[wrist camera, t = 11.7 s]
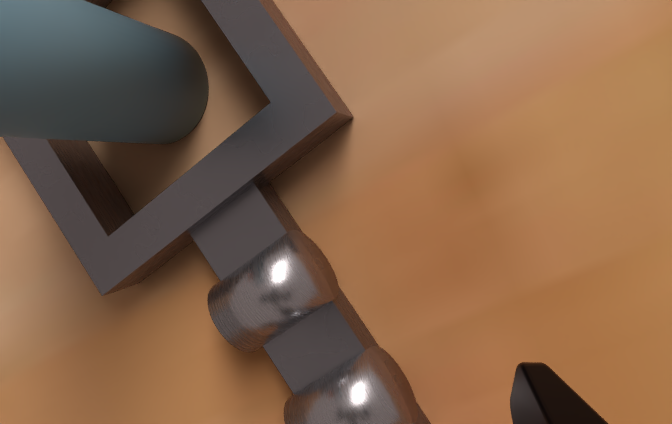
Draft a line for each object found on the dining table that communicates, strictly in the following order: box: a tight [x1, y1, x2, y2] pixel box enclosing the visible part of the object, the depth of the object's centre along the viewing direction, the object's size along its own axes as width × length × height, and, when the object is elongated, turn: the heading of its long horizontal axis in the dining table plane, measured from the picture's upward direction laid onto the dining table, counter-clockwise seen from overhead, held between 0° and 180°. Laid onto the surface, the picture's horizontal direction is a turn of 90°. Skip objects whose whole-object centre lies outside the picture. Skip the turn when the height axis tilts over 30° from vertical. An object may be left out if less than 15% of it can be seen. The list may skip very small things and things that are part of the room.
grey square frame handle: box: [3, 0, 431, 424], centre depth 19 cm, size 30×10×3 cm, turn 36°
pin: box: [0, 0, 208, 144], centre depth 14 cm, size 4×4×13 cm
